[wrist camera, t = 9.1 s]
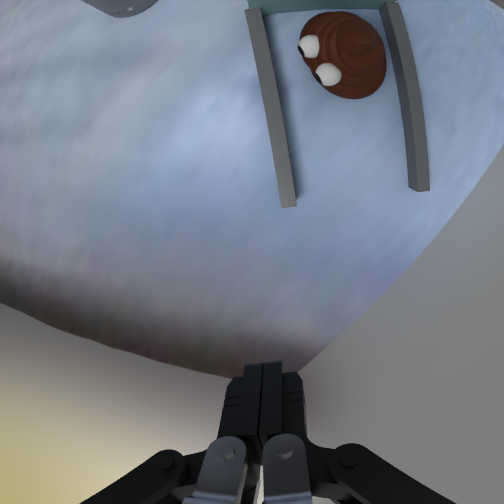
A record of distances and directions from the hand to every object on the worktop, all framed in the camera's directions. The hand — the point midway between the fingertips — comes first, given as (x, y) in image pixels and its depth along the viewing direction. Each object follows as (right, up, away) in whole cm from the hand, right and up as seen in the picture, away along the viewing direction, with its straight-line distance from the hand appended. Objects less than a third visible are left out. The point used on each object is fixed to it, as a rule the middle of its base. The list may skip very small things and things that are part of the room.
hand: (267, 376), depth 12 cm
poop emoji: (+8, +25, +14) cm, 30 cm away
